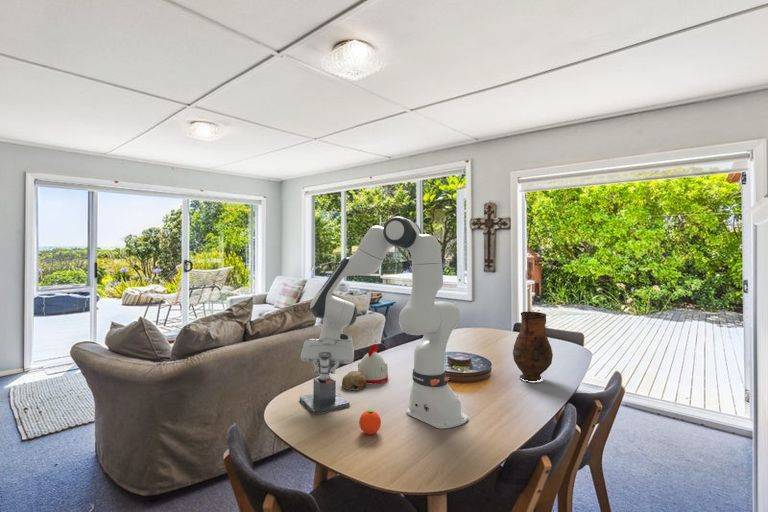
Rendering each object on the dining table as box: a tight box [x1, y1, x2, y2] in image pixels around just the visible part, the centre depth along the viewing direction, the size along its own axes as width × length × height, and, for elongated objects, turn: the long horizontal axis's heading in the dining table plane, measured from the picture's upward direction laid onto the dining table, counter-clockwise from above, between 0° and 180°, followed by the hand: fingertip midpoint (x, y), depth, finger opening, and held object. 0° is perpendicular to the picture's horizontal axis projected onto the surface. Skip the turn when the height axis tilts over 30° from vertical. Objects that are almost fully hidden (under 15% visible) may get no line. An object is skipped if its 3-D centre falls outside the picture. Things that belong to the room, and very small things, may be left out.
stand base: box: [299, 376, 351, 416], centre depth 142 cm, size 14×14×10 cm
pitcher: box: [512, 311, 554, 381], centre depth 172 cm, size 17×21×30 cm
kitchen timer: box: [357, 343, 389, 385], centre depth 169 cm, size 14×14×15 cm
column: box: [318, 352, 331, 383], centre depth 141 cm, size 5×5×17 cm
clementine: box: [358, 408, 382, 435], centre depth 121 cm, size 8×7×7 cm
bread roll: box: [341, 370, 367, 391], centre depth 160 cm, size 10×10×8 cm
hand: (324, 372), depth 141 cm, fingers open, 5 cm apart
